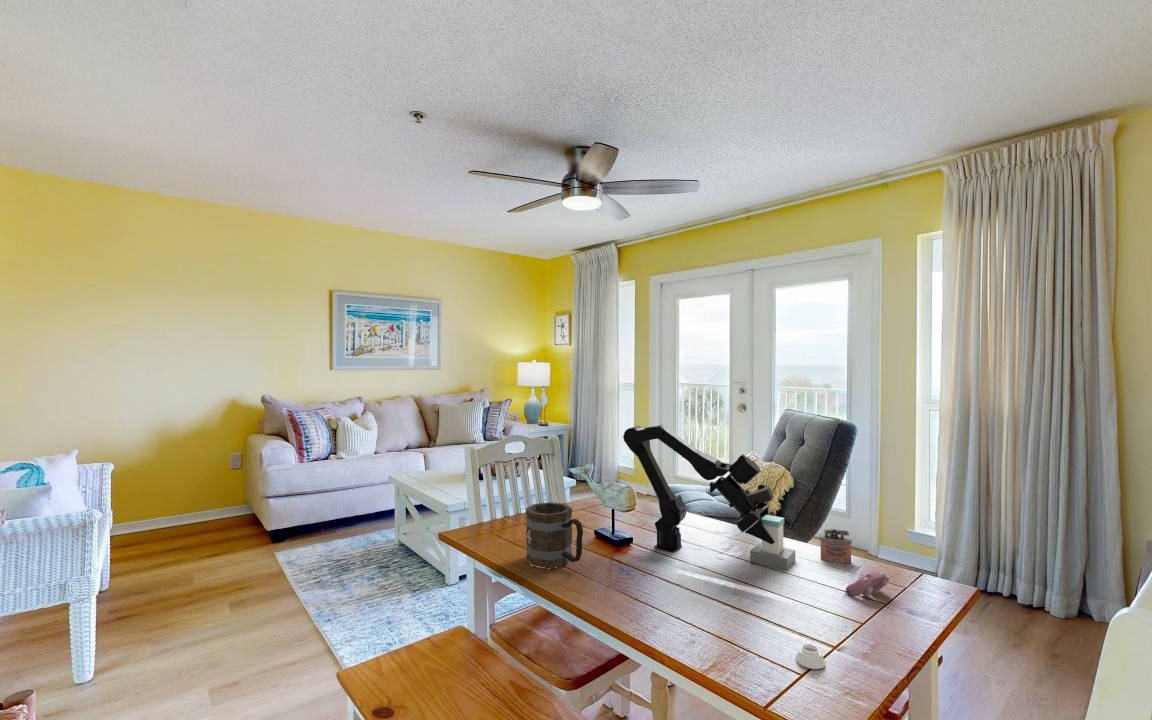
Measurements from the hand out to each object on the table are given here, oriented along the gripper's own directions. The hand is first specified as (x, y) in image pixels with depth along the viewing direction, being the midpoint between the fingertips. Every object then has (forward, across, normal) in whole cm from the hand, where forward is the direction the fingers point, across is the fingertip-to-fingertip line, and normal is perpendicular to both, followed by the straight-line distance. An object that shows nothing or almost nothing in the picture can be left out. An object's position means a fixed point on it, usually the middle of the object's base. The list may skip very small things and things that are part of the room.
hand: (775, 538), depth 146 cm
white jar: (+14, -47, -3) cm, 49 cm away
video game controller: (+22, -8, -10) cm, 25 cm away
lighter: (+16, +9, -5) cm, 19 cm away
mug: (-34, -27, +45) cm, 62 cm away
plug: (+4, 0, +5) cm, 7 cm away
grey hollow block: (+4, 0, +6) cm, 7 cm away
